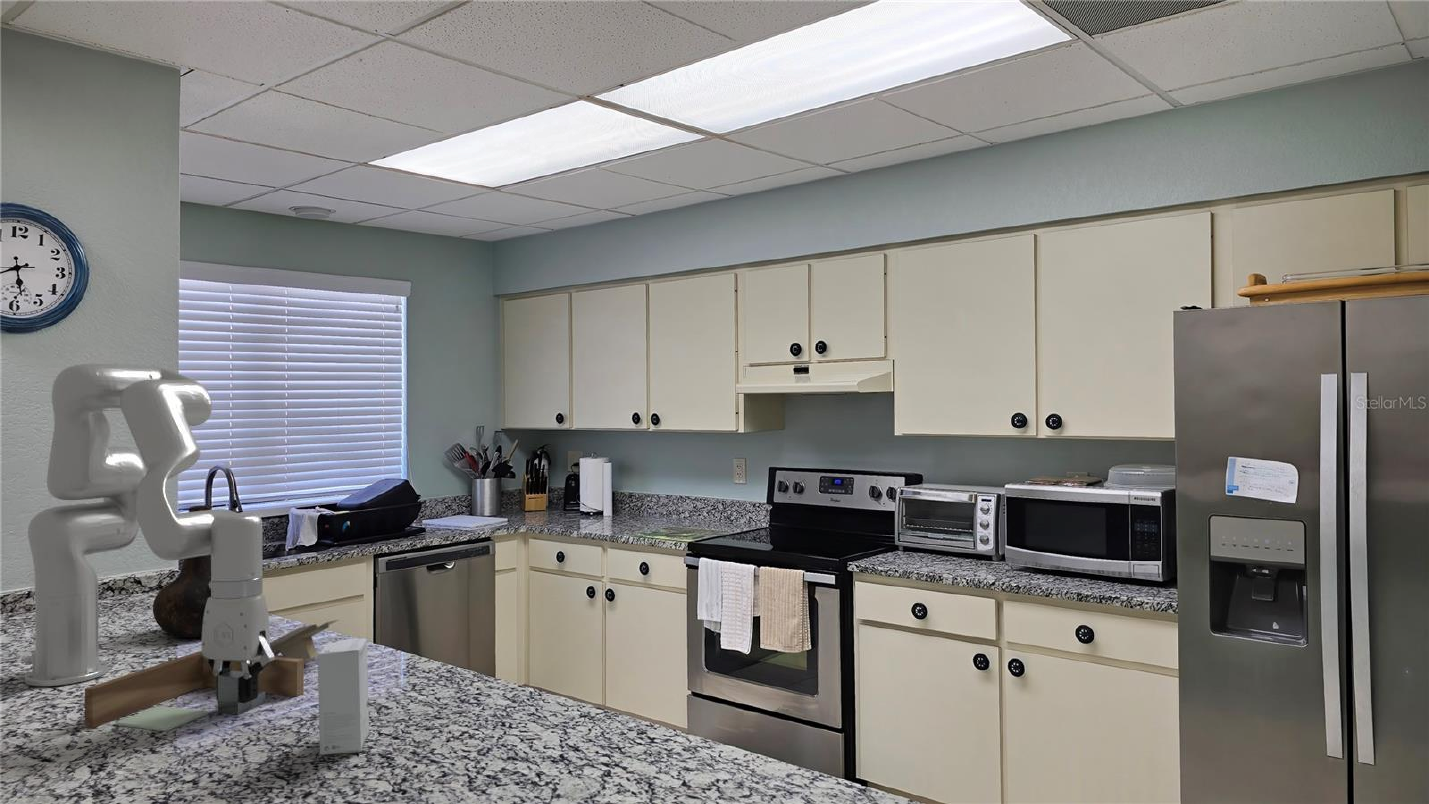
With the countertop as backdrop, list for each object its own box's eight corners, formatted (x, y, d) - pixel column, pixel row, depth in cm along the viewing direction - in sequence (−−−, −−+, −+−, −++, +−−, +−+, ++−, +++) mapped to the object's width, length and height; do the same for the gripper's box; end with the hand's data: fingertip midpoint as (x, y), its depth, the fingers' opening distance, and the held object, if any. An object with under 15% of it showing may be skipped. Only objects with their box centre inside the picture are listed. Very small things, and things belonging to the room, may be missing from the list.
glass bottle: (180, 648, 187) (179, 512, 186) (135, 636, 196) (135, 507, 196) (262, 630, 202) (262, 504, 202) (217, 619, 211) (217, 499, 211)
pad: (115, 724, 143) (115, 722, 143) (159, 708, 150) (159, 705, 150) (166, 731, 140) (166, 728, 140) (207, 713, 148) (207, 711, 148)
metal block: (217, 712, 148) (217, 675, 148) (245, 700, 154) (246, 665, 154) (237, 714, 147) (237, 677, 147) (265, 703, 153) (265, 667, 153)
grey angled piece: (250, 703, 165) (314, 648, 166) (223, 666, 166) (286, 611, 167) (297, 689, 181) (355, 639, 182) (272, 655, 182) (330, 605, 183)
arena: (84, 726, 142) (84, 688, 142) (203, 683, 164) (203, 650, 164) (196, 741, 136) (196, 701, 136) (303, 693, 158) (303, 659, 158)
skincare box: (361, 753, 131) (361, 650, 131) (316, 756, 130) (316, 653, 130) (369, 732, 140) (369, 636, 140) (327, 735, 138) (327, 638, 138)
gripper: (177, 590, 148) (177, 702, 148) (262, 596, 144) (262, 711, 144) (214, 581, 156) (214, 688, 156) (295, 587, 151) (295, 696, 151)
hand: (237, 698), depth 150 cm, fingers closed on metal block, 4 cm apart
